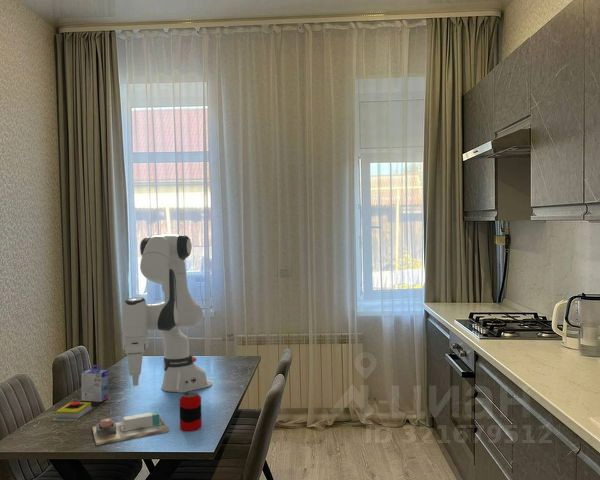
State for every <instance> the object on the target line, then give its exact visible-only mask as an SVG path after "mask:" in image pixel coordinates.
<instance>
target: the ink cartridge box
mask: <svg viewBox="0 0 600 480" xmlns="http://www.w3.org/2000/svg"><path fill="white" fill-rule="evenodd" d="M108 399H109V370H107V369H101V364H93V365H92V367H91V369H86V370H85V371H82V372H81V402H99V403H101V402H103V401H106V400H108Z"/></svg>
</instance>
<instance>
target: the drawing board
mask: <svg viewBox="0 0 600 480" xmlns="http://www.w3.org/2000/svg"><path fill="white" fill-rule="evenodd" d="M91 430H92V433H93V438H94V443H95V445H96V446H101V445H104V444H105V443H106V444H109V443H115V442H116V443H117V442H121V441H126V440H131V439H139V438H143V437H148V436H152V435H153V436H154V435H159V434H163V433H168V432H169V431H170V430H169V427H168V426H167V423H166V422H165V421H164V420H163V417H162V416H161V415H160V414H159V424H158V425H152V426H146V427H141V428H135V429H130V430H125V429H124V426H123V421H119V422H115V421H114V420H112V427H107V428H101V429H100V423H96V424H95V426H92V428H91Z"/></svg>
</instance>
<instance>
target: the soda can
mask: <svg viewBox="0 0 600 480" xmlns="http://www.w3.org/2000/svg"><path fill="white" fill-rule="evenodd" d="M201 427H202V397H201V395H199V393H197V392H191V391H188V392H184V393H183V394H182V395H181V396H180V398H179V429H180V430H181V431H183V432H195V431H197V430H199V429H201Z"/></svg>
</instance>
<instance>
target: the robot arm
mask: <svg viewBox="0 0 600 480" xmlns="http://www.w3.org/2000/svg"><path fill="white" fill-rule="evenodd" d="M139 245H140V247H139V251H140V255H141V259H140V264H139V265H140V266H139V269H140V272H141V274H142V275H143V277H145V279H147V280H148V281H151V282H153V283H156V284H159V285H161V289H162V292H163V293H164V301H163V302H161V301H160V302H157V303H151V304H149V303H147V301H146V298H144V297H135V296H134V297H131V298H127V299H126V300H124V301H123V305H122V306H123V307H122V312H121V313H122V316H121V317H122V318H121V321H122V322H121V325H122V328H123V329H122V330H123V332H122V334H121V335H122V350H124V353H125V355H126V359H127V360H126V361H127V367H128V374H129V376H130V377H131V378H132V386H134V387H136V386H137V387H138V386H139V379H140V375H141V372H142V365H143V364H142V363H143V356H144V354H145V352H146V349H148V348H149V332H148V331H159V333H160V334H161V337H162V340H163V351H164V355H163V356H164V357H163V362H162V363H163V365H162V367H163V377H162V384H161V390H163V391H165V392H172V393H178V394H179V393H180V394H181V393H183V394H184V393H188V392H191V391H196V390H200V389H205V388H209V387H212V381H211V379H209V378H208V377H207V374H206V372H205V370H204V369H203V368H202V367H201V366H199V365H197V364H196V363H195V362H197V357H195V356H192V355H190V340H189V337H188V335H186V334H184V333H183V331H181V330H180V327H181V328H189V327H190V328H191V327H196V326H199V325H200V323H201V322H202V321H203V318H204V311H203V309H202V307H201V306H200V305H199V304H198V303H197V302H196V301H195V299H193V297H192V295H191V294H190V291H189V288H188V281H187V270H186V268H187V267H186V262H185V260H186V259H187V258H188V257H189V256H190V255H191V253H192V247H193V246H192V242H191V239H190V237H189V236H188V235H185V234H161V235H153V236H151V235H150V236H146V237H144V238H143V239H142V240H141V241H140V244H139Z"/></svg>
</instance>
